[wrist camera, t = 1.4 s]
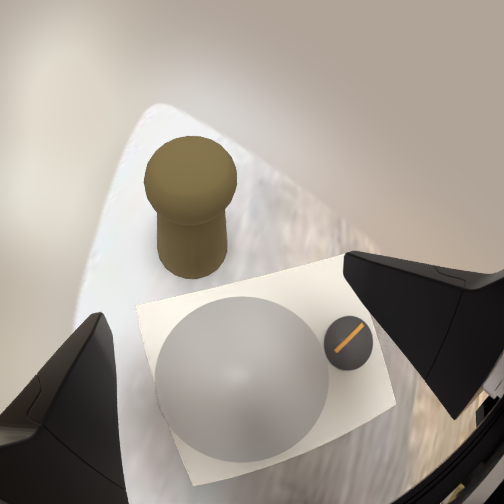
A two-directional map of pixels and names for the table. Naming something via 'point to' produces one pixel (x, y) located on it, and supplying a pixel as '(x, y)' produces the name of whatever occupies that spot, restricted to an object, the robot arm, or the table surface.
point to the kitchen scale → (264, 368)
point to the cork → (191, 203)
